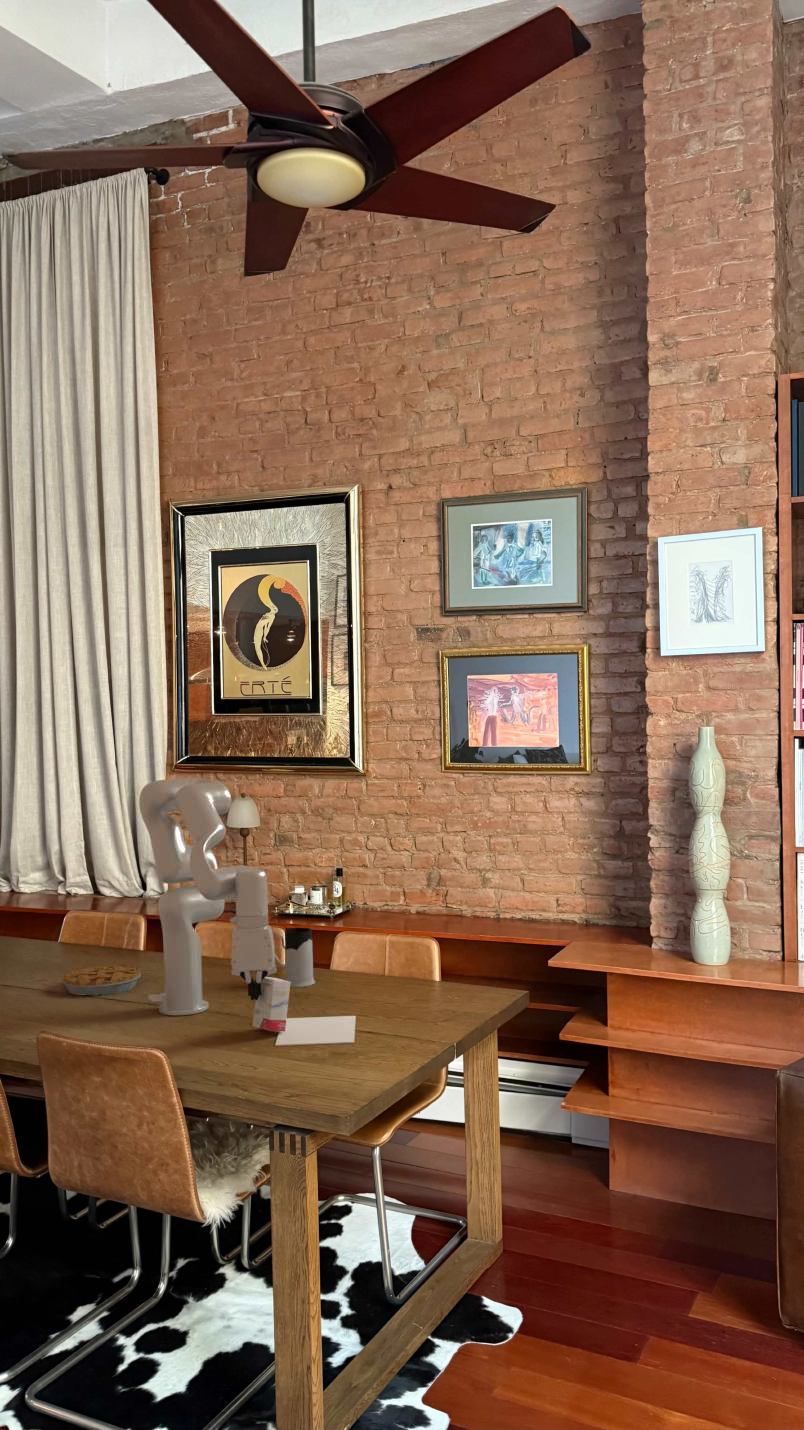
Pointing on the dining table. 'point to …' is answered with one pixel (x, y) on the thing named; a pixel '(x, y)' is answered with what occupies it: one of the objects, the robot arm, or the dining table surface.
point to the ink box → (272, 1005)
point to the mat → (317, 1031)
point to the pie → (102, 980)
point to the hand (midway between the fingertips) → (254, 998)
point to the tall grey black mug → (298, 957)
